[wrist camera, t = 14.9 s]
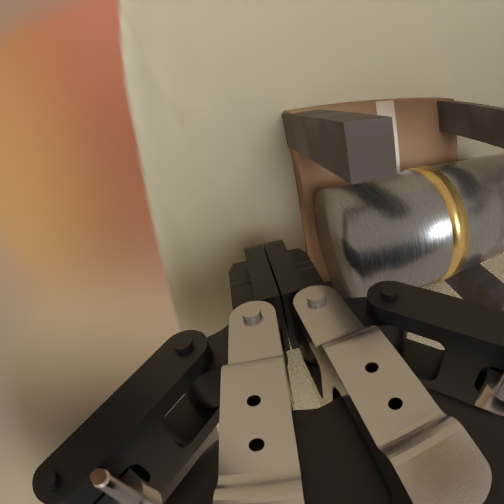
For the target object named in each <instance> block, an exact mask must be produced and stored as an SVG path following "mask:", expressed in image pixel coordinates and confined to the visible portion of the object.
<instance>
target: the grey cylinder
mask: <svg viewBox="0 0 504 504" xmlns="http://www.w3.org/2000/svg"><path fill="white" fill-rule="evenodd" d="M315 220H316V228H317V234H318V239H319V244H320V248H321V252H322V256H323V259H324V263H325V266H326V269H327V272H328V275H329V277H330V280H331V282H332V285H333V287H334V289H335V290H336V291H337V292H338V293H339V295H340V296H341V297H346V298H357V297H367V291H368V289H369V288H370V287H371V286H372V285H374V284H376V283H378V282H381V281H398V282H401V283H405V284H409V285H413V286H416V287H420V288H421V287H424V286H426V285H429V284H431V283H437V282H440V281H442V280H445V279H447V278H450V277H452V276H454V275H456V274H457V273H458V272H460V271H463V270H465V269H467V268H469V267H472V266H474V265H476V264H478V263H481V262H483V261H485V260H487V259H489V258H492V257H494V256H496V255H498V254H500V253H502V252H504V154H497V155H491V156H484V157H478V158H472V159H467V160H461V161H455V162H450V163H444V164H439V165H433V166H421V167H416V168H411V169H406V170H403V171H401V172H398V173H397V176H394V177H389V178H383V179H378V180H372V181H367V182H362V183H357V184H352V185H351V184H349V183H346V184H342V185H338V186H333V187H329V188H325V189H321V190H319V191H318V193H317V196H316V200H315Z"/></svg>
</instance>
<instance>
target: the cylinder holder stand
mask: <svg viewBox="0 0 504 504" xmlns="http://www.w3.org/2000/svg"><path fill="white" fill-rule="evenodd" d="M282 117H283V122H284V127H285V133H286V138H287V143H288V147H290V148H291V153H292V159H293V165H294V170H295V176H296V182H297V188H298V194H299V201H300V207H301V213H302V220H303V227H304V234H305V241H306V248H307V254H308V256H309V258H310V259H311V261H312V263H313V264H314V267H315V268H316V269H317V271H318V273H319V274H320V276H321V278H322V279H323V281H324V283H325V285H326V286H329V287H331V288H333V289H334V287H333V285H332V282H331V280H330V277H329V275H328V272H327V269H326V266H325V263H324V259H323V256H322V252H321V248H320V244H319V239H318V234H317V228H316V220H315V200H316V196H317V193H318V191H319V190H321V189H325V188H329V187H333V186H338V185H342V184H346V183H349V184H351V185H352V184H357V183H362V182H367V181H372V180H378V179H383V178H389V177H394V176H397V173H398V172H401V171H403V170H406V169H411V168H416V167H421V166H433V165H439V164H444V163H450V162H455V161H457V136H456V135H459V136H463V137H467V138H470V139H474V140H477V141H481V142H484V143H488V144H491V145H494V146H497V147H501V148H504V108H500V107H495V106H489V105H482V104H476V103H469V102H461V101H454V99H449V98H401V99H382V100H368V101H357V102H347V103H337V104H329V105H321V106H314V107H307V108H300V109H293V110H287V111H284V113H282ZM444 281H446V282H447V283H448V284H449V285H450V286H451V287H452V288H453V289H454V290H455V291H456V292H457V293H458V294H459V295H460V296H461V297H462V298H463V299H464V300H467V301H471V302H474V303H478V304H481V305H485V306H488V307H492V308H496V309H499V310H503V311H504V284H503V283H502V282H501V281H500V280H499V279H497V278H496V277H495V276H494V275H493V274H491V273H490V272H489V271H488V270H487V269H485V268H484V267H483V266H482V265H480V264H479V263H478V264H476V265H474V266H472V267H469V268H467V269H465V270H463V271H460V272H458V273H457V274H456V275H454V276H452V277H450V278H447V279H445V280H444Z"/></svg>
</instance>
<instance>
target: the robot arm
mask: <svg viewBox="0 0 504 504" xmlns="http://www.w3.org/2000/svg"><path fill="white" fill-rule="evenodd" d="M263 245H264V248H263V246H262V244H261V245H257V246H253V247H249V248H245V249H244V252H245V256H246V261H244V262H240V263H236V264H233V266H232V268H231V269H230V271H229V278H230V287H231V296H232V305H233V311H232V313H231V314H230V317H229V324H228V325H227V326H226V327H225V328H224V329H223V330H221V331H219V332H217V333H215V334H213V335H211V336H209V337H207V338H206V336H205V335H204V334H203V333H202V332H199V331H196V330H187V331H183V332H180V333H177V334H175V335H173V336H172V337H171V338H169V339H168V340H167V341H166V342H165V343H164V344H163V345H162V346H161V347H160V348H159V349H158V350H157V351H156V352H155V353H154V354H153V355H152V356H151V357H150V358H149V359H148V360H147V361H146V362H145V363H144V364H143V365H142V366H141V367H140V368H139V369H138V370H137V371H136V372H135V373H134V374H133V375H132V376H131V377H130V378H129V379H128V380H127V381H125V382H124V384H123V385H121V386H120V387H119V388H118V389H117V391H115V392H114V393H113V394H112V395H111V396H110V397H109V398H108V399H107V400H106V401H105V402H104V403H103V404H102V405H101V406H100V407H99V408H98V409H97V410H96V411H95V412H94V413H93V414H92V415H91V416H90V417H89V418H88V419H87V420H86V421H85V422H84V423H83V424H82V425H81V426H80V427H79V428H78V429H77V430H76V431H75V432H73V433H72V434H71V435H70V436H69V437H68V438H67V439H66V440H65V441H64V442H63V443H62V444H61V445H60V446H59V447H58V448H57V449H56V450H55V451H54V452H53V453H52V454H51V455H50V456H49V457H48V458H47V459H46V460H45V461H44V462H43V463H42V464H41V465H40V466H39V467H38V468H37V470H36V471H35V473H34V477H33V483H32V484H33V491H34V493H35V495H36V497H37V498H38V499H39V500H40V501H41V502H43V503H44V504H162V499H161V495H160V493H161V492H162V491H163V490H164V488H165V487H166V486H167V485H168V484H169V482H170V481H171V480H172V479H173V478H174V477H175V476H176V474H177V473H178V472H179V471H180V470H181V469H182V467H183V466H184V465H185V464H186V462H187V461H188V460H189V459H190V458H191V457H192V455H193V454H194V453H195V452H196V450H197V449H198V448H199V447H200V445H201V444H202V443H203V442H204V440H205V439H206V438H207V437H208V435H209V434H210V433H211V432H212V430H213V429H214V428H215V426H216V425H217V424H218V423H219V440H217V441H216V442H215V443H213V444H212V445H211V446H210V447H209V448H208V449H207V450H206V451H205V452H204V453H203V454H202V455H201V456H200V457H199V459H198V460H197V462H196V463H195V464H194V465H193V467H192V468H191V469H190V471H189V472H188V473H187V475H186V476H185V477H184V478H183V480H182V481H181V482H180V484H179V485H178V486H177V487H176V489H175V490H174V491H173V493H172V494H171V495H170V496H169V497H168V499H167V500H166V501H165V502H164V504H504V311H503V310H499V309H496V308H492V307H488V306H485V305H481V304H478V303H474V302H471V301H467V300H463V299H460V298H456V297H453V296H449V295H445V294H442V293H438V292H434V291H431V290H427V289H423V288H420V287H416V286H413V285H409V284H405V283H401V282H398V281H381V282H378V283H376V284H374V285H372V286H371V287H370V288H369V289H368V291H367V297H357V298H346V297H341V296H340V295H339V293H338V292H337V291H336V290H335V289H333V288H331V287H329V286H326V285H325V283H324V281H323V279H322V278H321V276H320V274H319V273H318V271H317V269H316V268H315V267H314V264H313V263H312V261H311V259H310V258H309V256H308V254H307V253H306V252H304V251H302V250H300V249H298V248H297V249H293V250H289V251H287V249H286V247H285V245H284V243H283V241H282V240H277V241H273V242H269V243H265V244H263ZM264 250H265V251H264ZM407 331H408V332H411V333H414V334H417V335H420V336H423V337H426V338H429V339H432V340H435V341H438V342H439V343H441V344H442V345H443V346H444V348H445V350H439V349H436V348H433V347H430V346H427V345H424V344H421V343H418V342H415V341H412V340H409V339H407ZM287 334H288V335H287ZM288 337H289V340H288ZM289 341H290V344H291V347H292V349H296V348H300V351H301V354H302V361H303V366H304V368H305V370H306V373H307V375H308V377H309V379H310V381H311V384H312V386H313V388H314V390H315V392H316V395H317V397H318V399H319V401H320V404H321V406H322V407H320V408H317V409H309V410H295V408H294V402H293V396H292V390H291V384H290V379H289V373H288V368H287V365H288V358H287V353H286V351H288V350H290V345H289ZM184 393H185V395H184V396H183V398H182V399H181V400H180V401H179V402H178V403H177V404H176V405H175V403H176V402H177V401H178V400H179V399H180V398H181V397H182V395H183V394H184ZM174 405H175V407H174V408H173V409H172V410H171V411H170V412H169V413H168V414H167V412H168V411H169V410H170V409H171V408H172V407H173V406H174ZM166 414H167V416H166V417H165V415H166ZM164 417H165V418H164Z"/></svg>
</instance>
